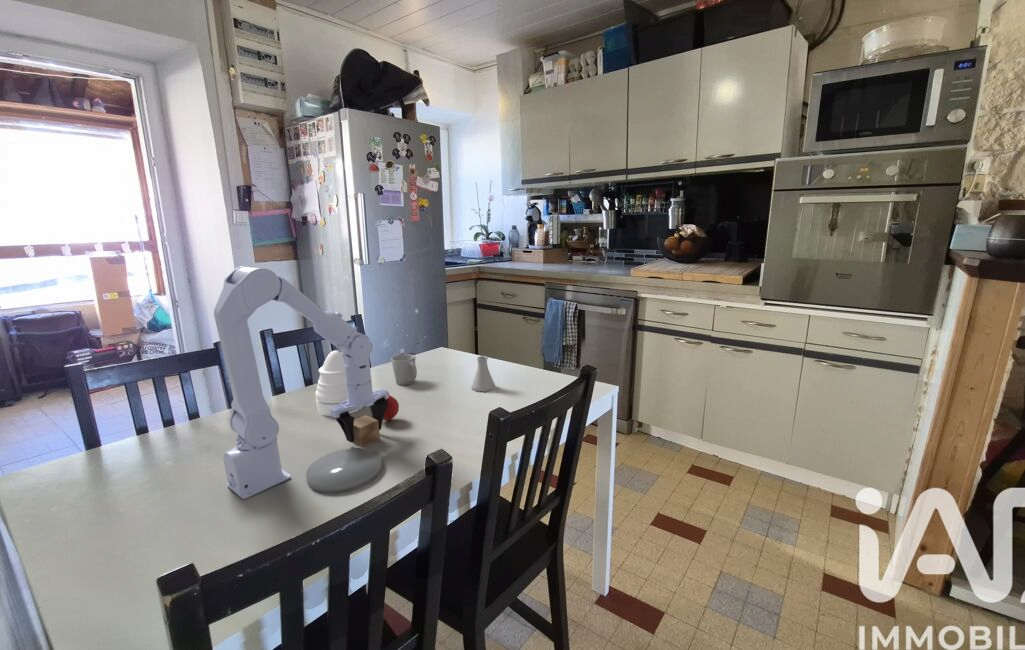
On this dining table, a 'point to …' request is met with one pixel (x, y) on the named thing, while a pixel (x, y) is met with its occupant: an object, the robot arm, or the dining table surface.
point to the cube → (365, 430)
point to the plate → (343, 470)
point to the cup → (404, 368)
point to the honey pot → (331, 384)
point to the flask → (483, 376)
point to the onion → (391, 408)
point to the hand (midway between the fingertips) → (364, 434)
